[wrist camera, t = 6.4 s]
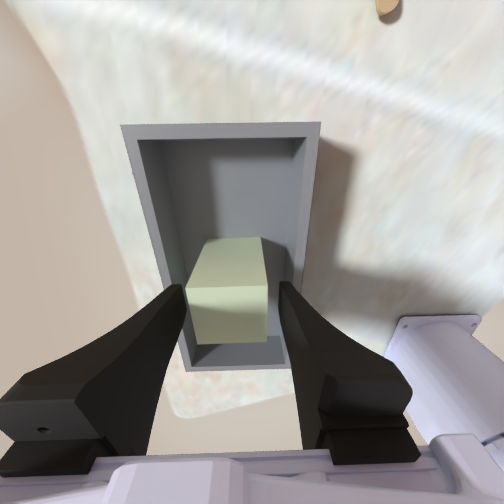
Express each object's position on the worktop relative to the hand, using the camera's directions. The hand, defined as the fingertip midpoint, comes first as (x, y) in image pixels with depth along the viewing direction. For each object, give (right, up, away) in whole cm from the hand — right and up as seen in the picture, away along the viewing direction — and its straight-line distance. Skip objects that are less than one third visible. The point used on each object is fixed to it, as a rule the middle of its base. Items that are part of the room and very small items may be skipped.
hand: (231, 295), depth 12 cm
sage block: (0, +2, +4) cm, 4 cm away
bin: (0, +2, +4) cm, 5 cm away
